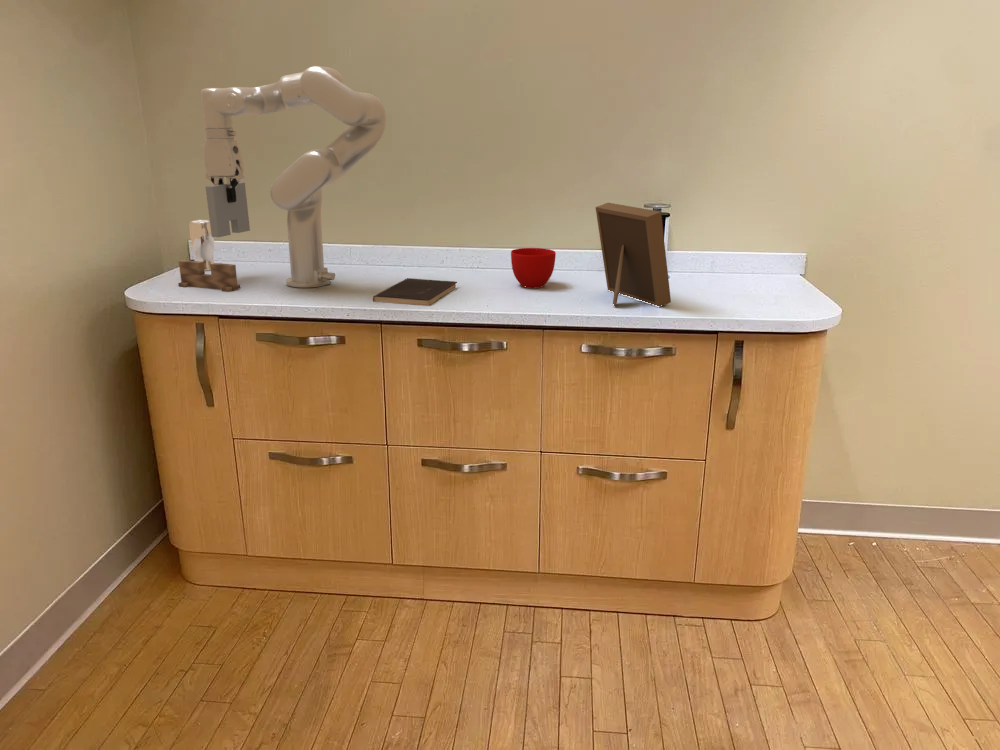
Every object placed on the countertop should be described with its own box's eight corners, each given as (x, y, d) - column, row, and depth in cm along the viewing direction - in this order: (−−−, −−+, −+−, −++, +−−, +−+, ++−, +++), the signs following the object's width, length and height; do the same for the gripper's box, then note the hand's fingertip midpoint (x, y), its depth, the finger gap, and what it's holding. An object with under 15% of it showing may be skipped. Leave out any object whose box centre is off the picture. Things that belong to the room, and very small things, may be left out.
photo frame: (619, 289, 220) (624, 201, 211) (670, 305, 202) (678, 210, 194) (577, 295, 213) (580, 204, 205) (626, 312, 195) (632, 214, 187)
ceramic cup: (555, 278, 233) (556, 246, 230) (553, 291, 217) (554, 256, 214) (513, 277, 234) (513, 245, 231) (508, 289, 218) (509, 255, 215)
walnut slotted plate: (241, 288, 217) (238, 263, 214) (229, 291, 212) (227, 266, 210) (190, 282, 222) (187, 259, 220) (178, 286, 218) (174, 262, 216)
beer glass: (222, 268, 243) (217, 220, 238) (203, 271, 237) (198, 223, 233) (207, 265, 246) (202, 219, 242) (189, 269, 241) (183, 221, 236)
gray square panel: (250, 230, 228) (244, 182, 224) (218, 237, 216) (212, 186, 211) (243, 230, 229) (238, 182, 224) (211, 236, 217) (205, 186, 212)
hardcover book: (457, 289, 221) (457, 281, 220) (429, 308, 200) (429, 299, 199) (405, 285, 224) (405, 278, 224) (373, 303, 204) (372, 295, 203)
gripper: (252, 134, 214) (259, 201, 220) (205, 134, 219) (213, 199, 225) (234, 135, 207) (242, 204, 213) (187, 135, 213) (196, 202, 219)
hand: (227, 201), depth 219 cm, fingers closed on gray square panel, 2 cm apart
